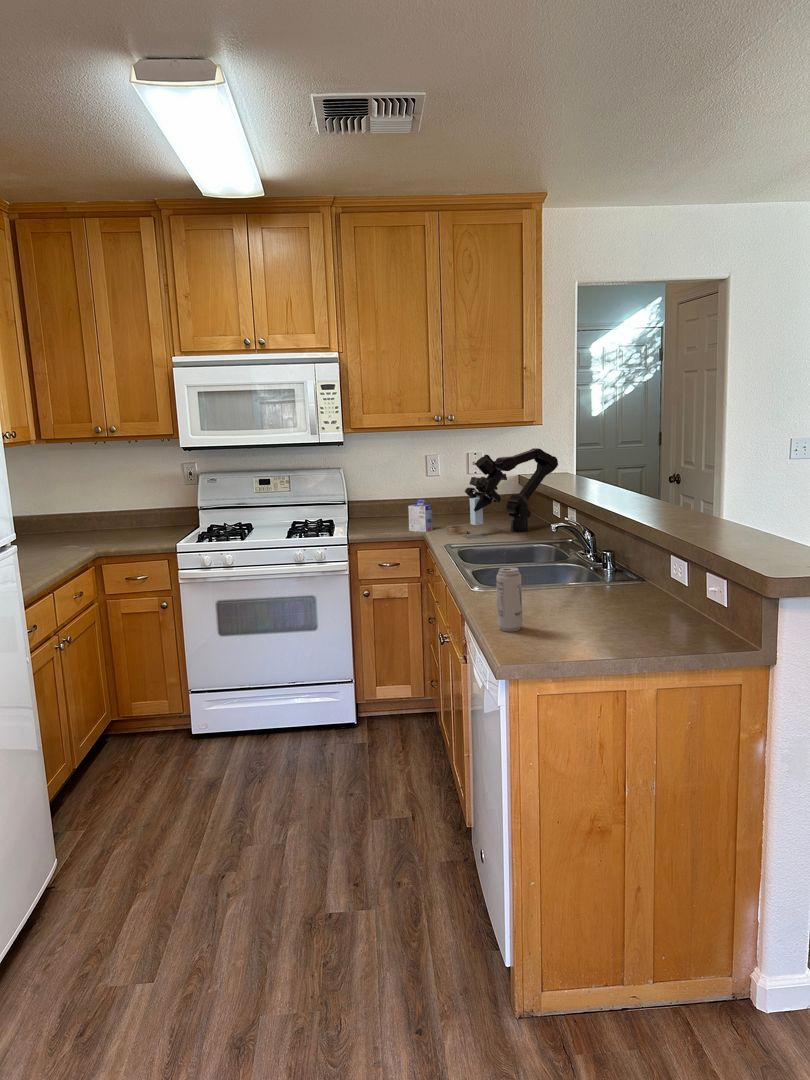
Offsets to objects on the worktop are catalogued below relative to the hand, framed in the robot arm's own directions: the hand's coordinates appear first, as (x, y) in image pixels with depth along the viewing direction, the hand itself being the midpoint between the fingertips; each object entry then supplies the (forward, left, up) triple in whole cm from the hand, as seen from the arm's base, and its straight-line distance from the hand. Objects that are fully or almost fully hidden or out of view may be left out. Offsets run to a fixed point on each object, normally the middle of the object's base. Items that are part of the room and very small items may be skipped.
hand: (471, 510), depth 315 cm
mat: (-1, 0, -12) cm, 12 cm away
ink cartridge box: (+16, -28, -12) cm, 35 cm away
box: (+4, -11, -12) cm, 17 cm away
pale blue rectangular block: (-2, -1, -6) cm, 6 cm away
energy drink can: (+30, +130, -12) cm, 134 cm away
